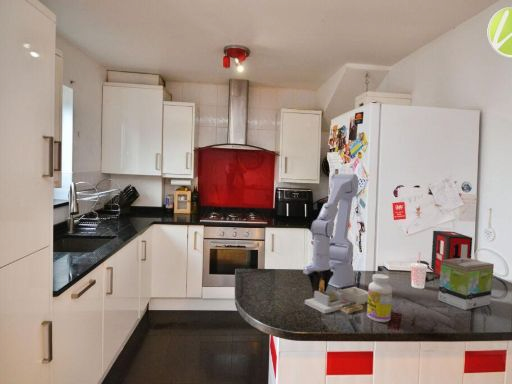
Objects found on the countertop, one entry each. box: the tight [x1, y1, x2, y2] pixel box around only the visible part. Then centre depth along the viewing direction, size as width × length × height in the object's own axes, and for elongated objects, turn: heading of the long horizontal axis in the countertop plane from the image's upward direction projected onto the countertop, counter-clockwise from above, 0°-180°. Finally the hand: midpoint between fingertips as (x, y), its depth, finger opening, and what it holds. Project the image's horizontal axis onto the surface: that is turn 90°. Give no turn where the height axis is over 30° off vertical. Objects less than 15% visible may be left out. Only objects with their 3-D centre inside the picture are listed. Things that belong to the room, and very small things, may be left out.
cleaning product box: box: [430, 230, 473, 279], centre depth 142 cm, size 16×9×20 cm, turn 172°
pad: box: [324, 292, 337, 302], centre depth 105 cm, size 4×4×1 cm
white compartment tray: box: [304, 287, 350, 314], centre depth 105 cm, size 12×9×4 cm
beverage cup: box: [410, 251, 428, 289], centre depth 128 cm, size 6×6×14 cm
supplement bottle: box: [366, 273, 393, 323], centre depth 96 cm, size 7×7×13 cm
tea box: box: [437, 258, 495, 311], centre depth 112 cm, size 15×10×15 cm, turn 117°
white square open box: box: [341, 286, 368, 306], centre depth 110 cm, size 7×7×3 cm
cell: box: [318, 278, 325, 294], centre depth 113 cm, size 3×3×6 cm
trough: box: [339, 302, 364, 315], centre depth 102 cm, size 7×3×2 cm, turn 123°
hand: (319, 291), depth 113 cm, fingers closed on cell, 3 cm apart
